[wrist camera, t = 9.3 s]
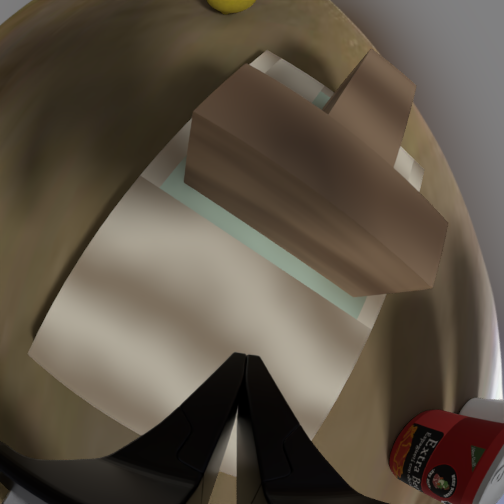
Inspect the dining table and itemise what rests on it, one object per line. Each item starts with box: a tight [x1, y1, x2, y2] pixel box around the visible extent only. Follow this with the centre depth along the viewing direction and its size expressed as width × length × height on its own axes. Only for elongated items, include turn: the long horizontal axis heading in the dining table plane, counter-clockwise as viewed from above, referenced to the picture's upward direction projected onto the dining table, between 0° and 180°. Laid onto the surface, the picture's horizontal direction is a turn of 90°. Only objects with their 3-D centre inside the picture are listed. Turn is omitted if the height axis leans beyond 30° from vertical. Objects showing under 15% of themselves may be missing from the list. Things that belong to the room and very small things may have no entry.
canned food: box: [389, 410, 504, 504], centre depth 14 cm, size 8×8×11 cm
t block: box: [184, 49, 448, 297], centre depth 16 cm, size 13×13×7 cm
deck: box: [28, 50, 424, 477], centre depth 18 cm, size 29×18×1 cm, turn 148°
